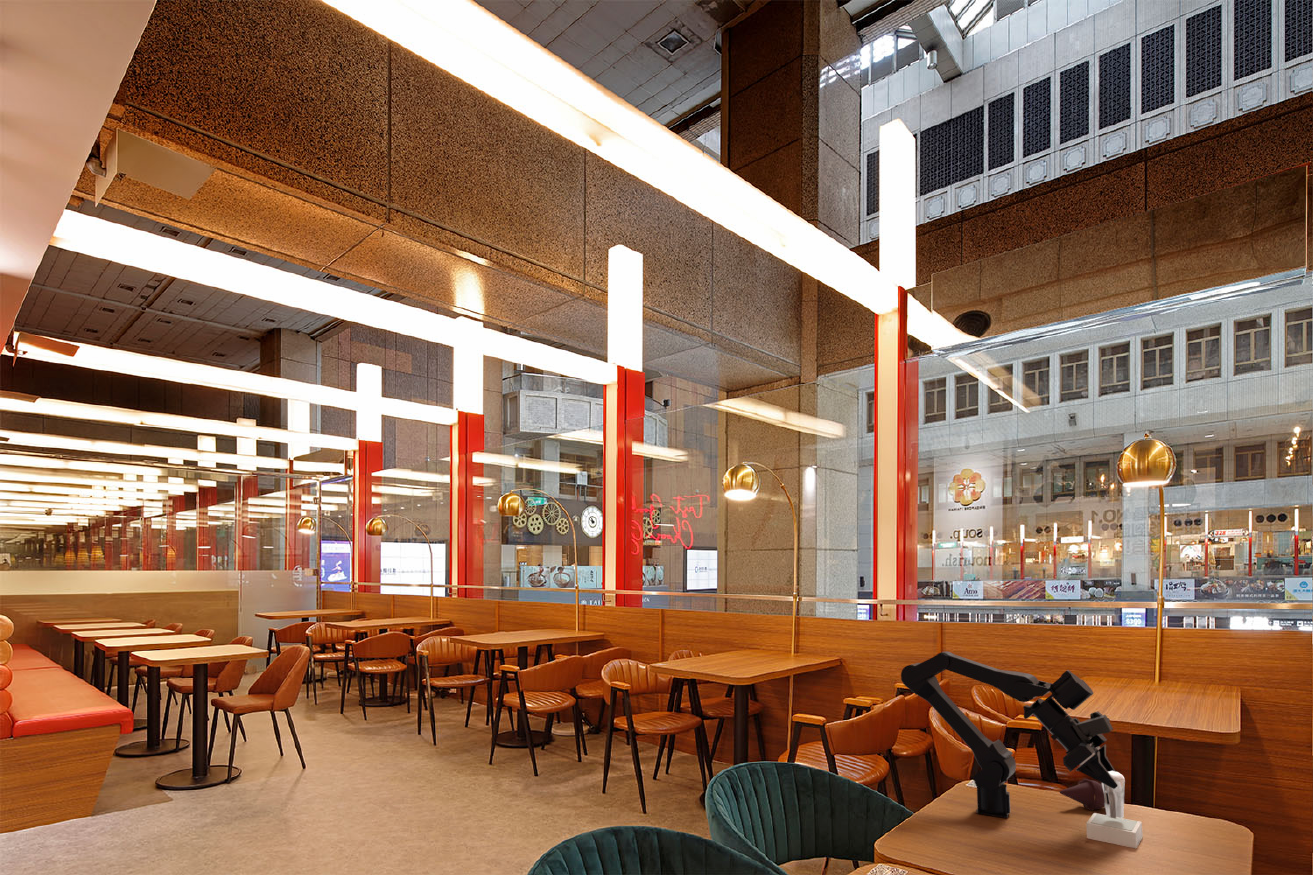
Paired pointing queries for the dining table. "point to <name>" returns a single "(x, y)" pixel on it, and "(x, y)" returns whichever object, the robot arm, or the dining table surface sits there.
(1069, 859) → the dining table surface
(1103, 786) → the milkshake
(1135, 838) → the tile base
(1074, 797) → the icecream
